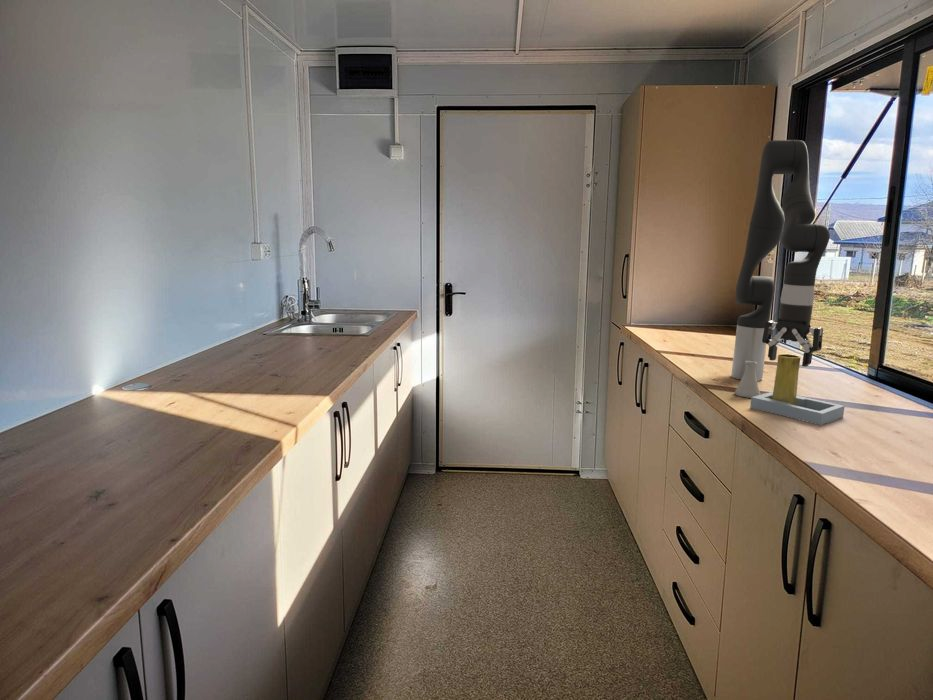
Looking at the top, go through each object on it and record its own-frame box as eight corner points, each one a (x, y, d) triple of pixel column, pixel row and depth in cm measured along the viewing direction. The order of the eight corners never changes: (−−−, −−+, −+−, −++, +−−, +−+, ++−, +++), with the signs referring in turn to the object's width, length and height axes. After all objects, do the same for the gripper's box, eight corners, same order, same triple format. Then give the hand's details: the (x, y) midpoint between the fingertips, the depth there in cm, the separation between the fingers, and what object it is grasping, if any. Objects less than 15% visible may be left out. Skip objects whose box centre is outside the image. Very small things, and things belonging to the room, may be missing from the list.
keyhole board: (773, 401, 174) (775, 390, 173) (843, 417, 160) (844, 405, 159) (750, 407, 166) (751, 397, 165) (820, 425, 152) (822, 413, 152)
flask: (763, 399, 175) (768, 365, 173) (736, 397, 177) (740, 363, 175) (757, 393, 182) (761, 360, 180) (731, 391, 184) (735, 358, 182)
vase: (785, 412, 162) (792, 358, 159) (765, 405, 167) (771, 354, 164) (800, 409, 164) (807, 357, 162) (779, 403, 170) (786, 352, 167)
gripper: (832, 304, 157) (823, 366, 160) (776, 298, 168) (768, 356, 171) (819, 306, 152) (809, 370, 156) (762, 299, 163) (755, 359, 167)
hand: (788, 363), depth 163 cm, fingers open, 8 cm apart
